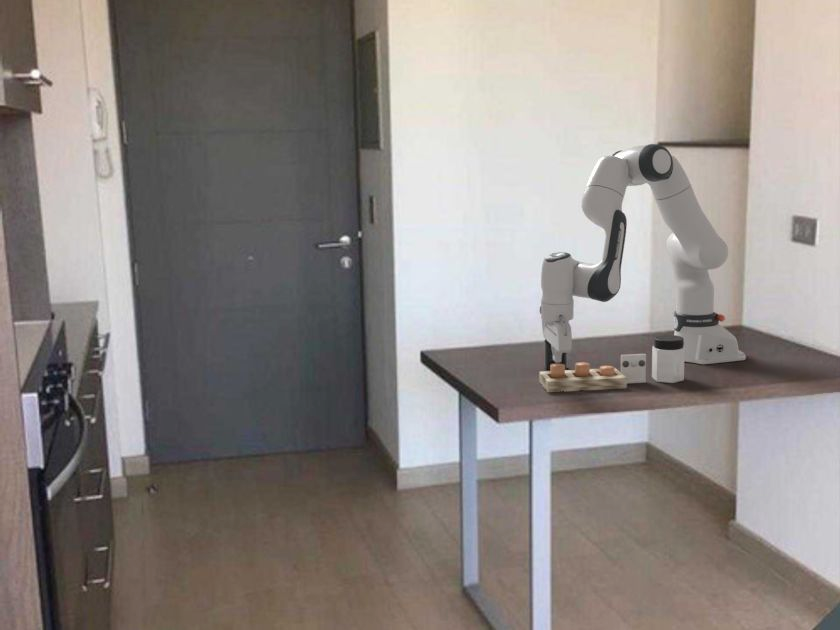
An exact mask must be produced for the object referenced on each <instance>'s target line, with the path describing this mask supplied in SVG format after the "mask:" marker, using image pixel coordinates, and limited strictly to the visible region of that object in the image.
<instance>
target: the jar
mask: <svg viewBox="0 0 840 630" xmlns="http://www.w3.org/2000/svg"><path fill="white" fill-rule="evenodd" d="M683 345H684V339H683V337H680V336H676V335H674V334H660V335H656V336H654V337H653V345H652V350H651V351H652V353H651V378H652V379H653V380H655V382H656V383H668V384H675V383H678V382H683V381H684V380H685V361H684V357H685V348H683Z"/></svg>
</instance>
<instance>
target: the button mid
mask: <svg viewBox="0 0 840 630" xmlns="http://www.w3.org/2000/svg"><path fill="white" fill-rule="evenodd" d="M590 369H591V365H590V363H588V362H584V361H581V362H575V363H574V370H575V375H576V376H589V375H590Z"/></svg>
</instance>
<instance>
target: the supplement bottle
mask: <svg viewBox="0 0 840 630" xmlns="http://www.w3.org/2000/svg"><path fill="white" fill-rule="evenodd" d="M543 349H544V350H543V351H544V352H543V354H544V355H543V356H544V357H543V358H544V359H543V360H544V361H543V362H544V363H543V365H544V368H545V370H546V371H550V365H551V364H564V365H565V370H567V368H568V352H567V353H562V356H561V362H558V363H556V362H555V361H554V360H553V353H552V348H551V344H550V343H549V342H548V341H547V340H546V339H545V338H544V341H543Z"/></svg>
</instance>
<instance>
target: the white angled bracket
mask: <svg viewBox="0 0 840 630" xmlns="http://www.w3.org/2000/svg"><path fill="white" fill-rule="evenodd" d="M620 372H621V373H622V374H623V375H624V376H625V377H627V384H642V383H647V380H646V379H647V377H646V376H647V374H646V373H647V354H646V353H636V354H632V353H631V354H620Z"/></svg>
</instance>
